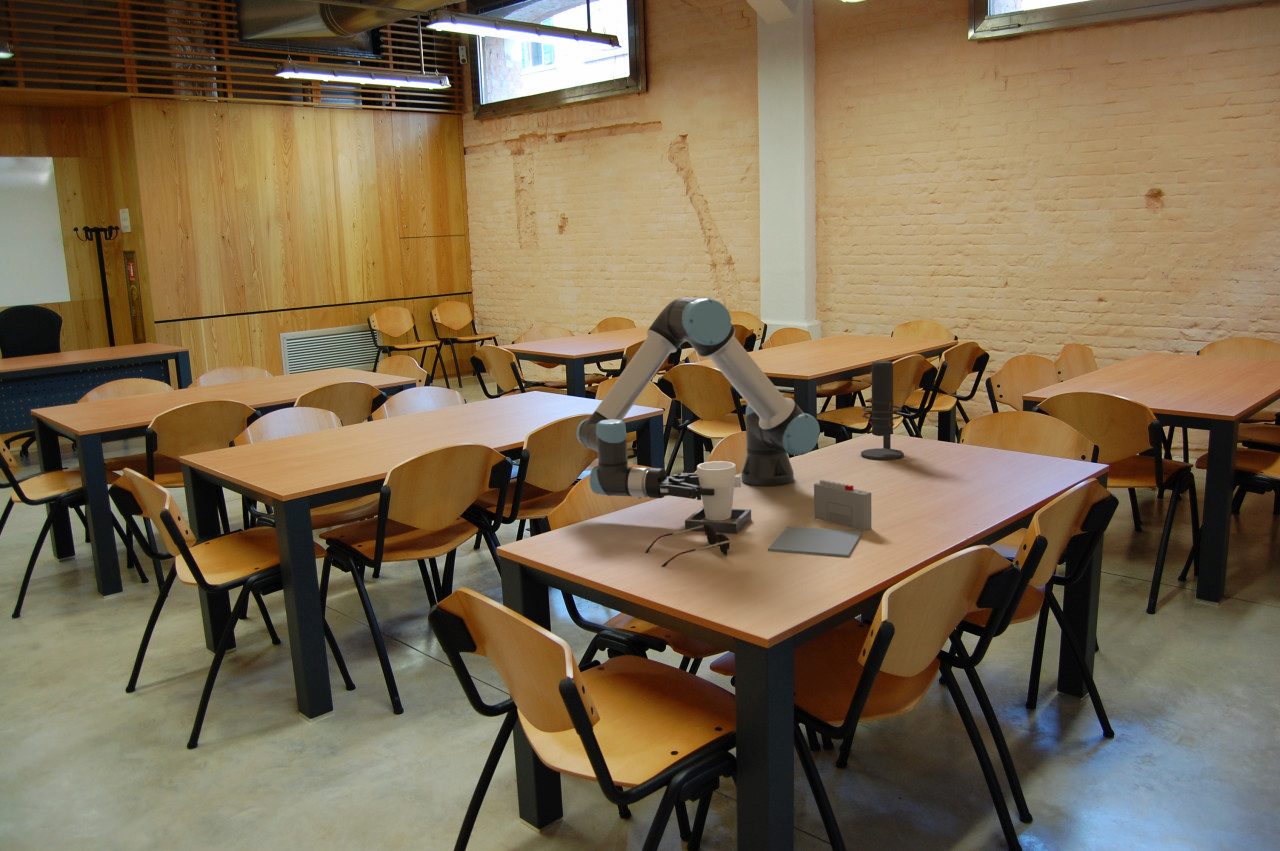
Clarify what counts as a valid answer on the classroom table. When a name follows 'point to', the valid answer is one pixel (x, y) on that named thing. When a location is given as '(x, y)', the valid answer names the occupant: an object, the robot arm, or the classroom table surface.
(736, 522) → the holder collar
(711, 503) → the foam cup
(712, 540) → the sunglasses
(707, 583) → the classroom table surface
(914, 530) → the classroom table surface
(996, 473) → the classroom table surface
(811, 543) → the rubber mat
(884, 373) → the microphone
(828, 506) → the cassette player
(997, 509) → the classroom table surface
